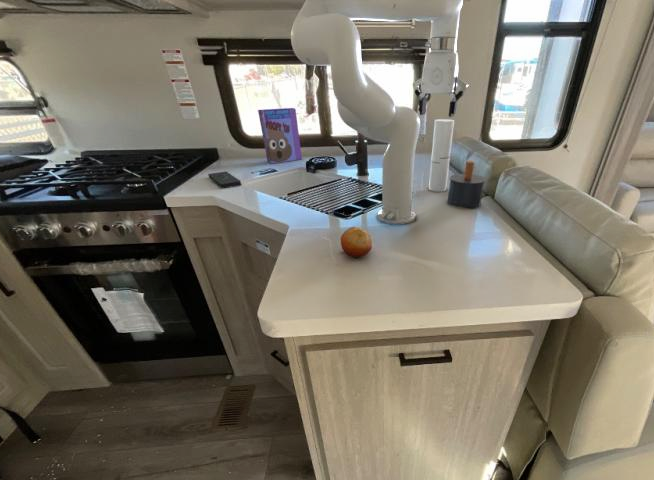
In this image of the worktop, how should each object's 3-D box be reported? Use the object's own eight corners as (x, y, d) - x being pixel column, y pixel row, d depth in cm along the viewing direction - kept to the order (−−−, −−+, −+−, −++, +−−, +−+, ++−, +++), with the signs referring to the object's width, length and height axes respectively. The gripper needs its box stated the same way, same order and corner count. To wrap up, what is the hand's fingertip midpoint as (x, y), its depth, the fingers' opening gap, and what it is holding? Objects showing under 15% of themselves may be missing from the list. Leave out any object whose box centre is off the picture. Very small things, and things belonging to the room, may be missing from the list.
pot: (474, 211, 113) (479, 186, 108) (443, 205, 117) (445, 181, 112) (483, 201, 121) (487, 178, 116) (453, 196, 125) (456, 174, 120)
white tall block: (447, 191, 130) (455, 121, 116) (429, 191, 131) (435, 121, 116) (444, 186, 136) (452, 119, 122) (427, 186, 136) (433, 119, 122)
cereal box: (271, 164, 166) (261, 110, 152) (267, 162, 169) (257, 109, 155) (301, 159, 176) (295, 108, 162) (297, 157, 179) (291, 107, 165)
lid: (480, 188, 107) (483, 167, 104) (444, 183, 112) (446, 163, 109) (489, 179, 117) (493, 160, 113) (455, 175, 121) (458, 156, 118)
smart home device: (226, 170, 147) (241, 180, 134) (227, 174, 148) (242, 184, 135) (207, 173, 143) (220, 184, 130) (208, 177, 144) (221, 188, 131)
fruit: (350, 238, 90) (360, 218, 84) (369, 258, 89) (380, 240, 82) (329, 248, 85) (338, 227, 78) (348, 270, 83) (359, 250, 77)
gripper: (409, 46, 93) (406, 114, 103) (468, 45, 86) (459, 118, 96) (420, 48, 98) (416, 112, 108) (476, 46, 91) (466, 116, 101)
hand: (436, 115), depth 102 cm, fingers open, 9 cm apart
